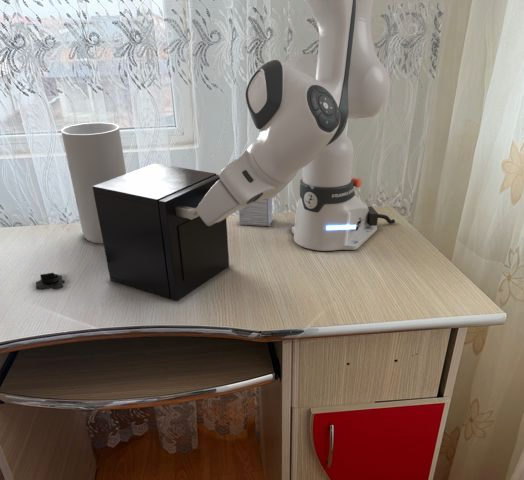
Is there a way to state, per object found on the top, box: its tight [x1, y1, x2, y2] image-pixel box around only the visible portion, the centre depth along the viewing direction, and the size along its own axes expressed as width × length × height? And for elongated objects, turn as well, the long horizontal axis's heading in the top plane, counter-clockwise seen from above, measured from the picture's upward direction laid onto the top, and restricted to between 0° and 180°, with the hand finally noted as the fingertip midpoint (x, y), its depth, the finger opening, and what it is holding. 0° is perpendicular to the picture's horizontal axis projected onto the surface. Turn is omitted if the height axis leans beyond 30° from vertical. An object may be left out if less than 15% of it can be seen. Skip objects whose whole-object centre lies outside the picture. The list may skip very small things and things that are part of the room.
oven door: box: [158, 174, 230, 302], centre depth 105 cm, size 6×18×20 cm, turn 149°
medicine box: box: [238, 198, 273, 227], centre depth 137 cm, size 8×4×9 cm, turn 77°
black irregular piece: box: [35, 272, 65, 291], centre depth 111 cm, size 6×2×6 cm
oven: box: [92, 163, 218, 300], centre depth 110 cm, size 16×18×20 cm
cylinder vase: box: [60, 122, 127, 244], centre depth 127 cm, size 12×12×25 cm
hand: (219, 217), depth 101 cm, fingers closed
